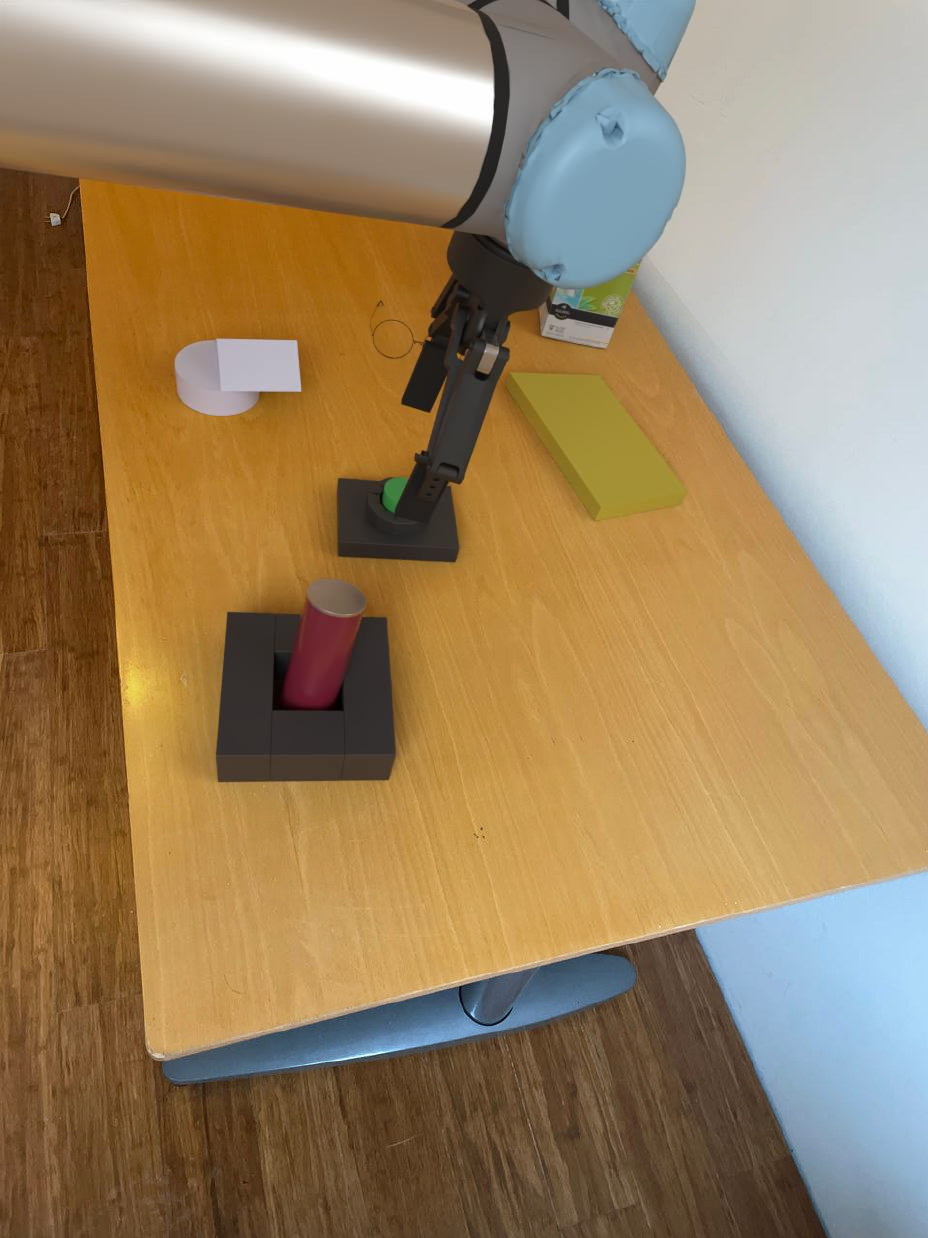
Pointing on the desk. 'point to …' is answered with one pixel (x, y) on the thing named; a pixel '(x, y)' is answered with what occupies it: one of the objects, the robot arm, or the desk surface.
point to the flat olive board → (596, 444)
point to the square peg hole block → (302, 739)
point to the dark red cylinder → (322, 645)
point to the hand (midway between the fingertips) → (413, 458)
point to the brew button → (393, 492)
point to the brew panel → (391, 526)
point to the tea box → (586, 311)
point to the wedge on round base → (235, 373)
